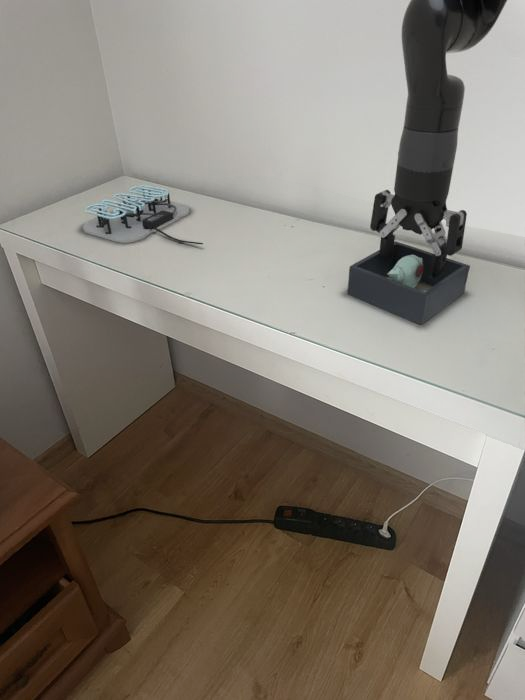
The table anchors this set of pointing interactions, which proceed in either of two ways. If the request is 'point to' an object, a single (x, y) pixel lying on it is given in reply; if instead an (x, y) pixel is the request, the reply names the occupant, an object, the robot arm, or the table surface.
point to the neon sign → (135, 216)
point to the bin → (403, 298)
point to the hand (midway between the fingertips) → (409, 266)
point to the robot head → (407, 270)
